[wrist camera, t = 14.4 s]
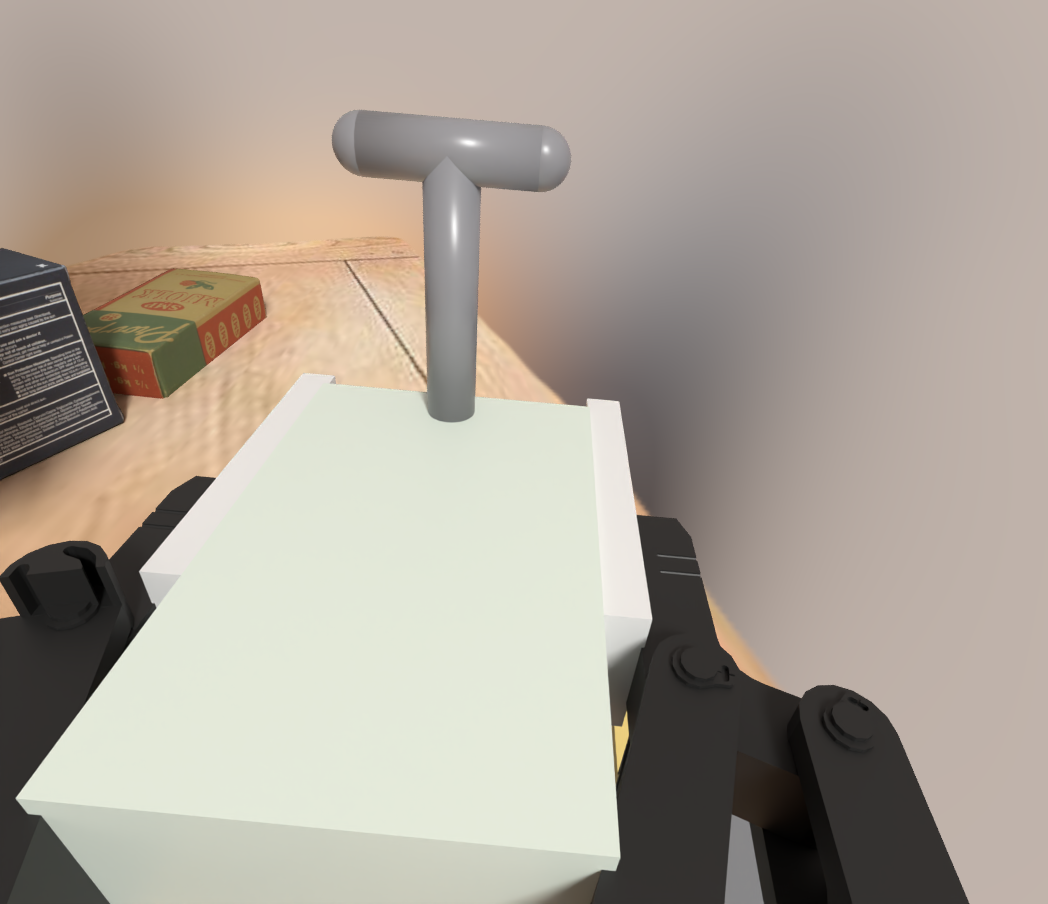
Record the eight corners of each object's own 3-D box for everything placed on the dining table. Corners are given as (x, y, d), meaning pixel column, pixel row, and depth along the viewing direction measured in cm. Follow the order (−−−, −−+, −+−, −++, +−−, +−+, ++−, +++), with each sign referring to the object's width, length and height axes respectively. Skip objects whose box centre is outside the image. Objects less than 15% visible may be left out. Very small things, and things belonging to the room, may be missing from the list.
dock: (-250, 1520, 10) (-470, 1584, 8) (249, 621, 27) (229, 548, 25) (882, 1643, 10) (1024, 1746, 8) (688, 664, 27) (713, 595, 24)
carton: (269, 320, 55) (261, 275, 53) (166, 404, 42) (150, 349, 40) (182, 310, 56) (171, 264, 53) (53, 391, 43) (30, 335, 40)
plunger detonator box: (202, 1030, 10) (-457, 213, 3) (355, 621, 18) (286, 99, 10) (546, 1065, 10) (810, 327, 3) (554, 640, 18) (631, 128, 10)
